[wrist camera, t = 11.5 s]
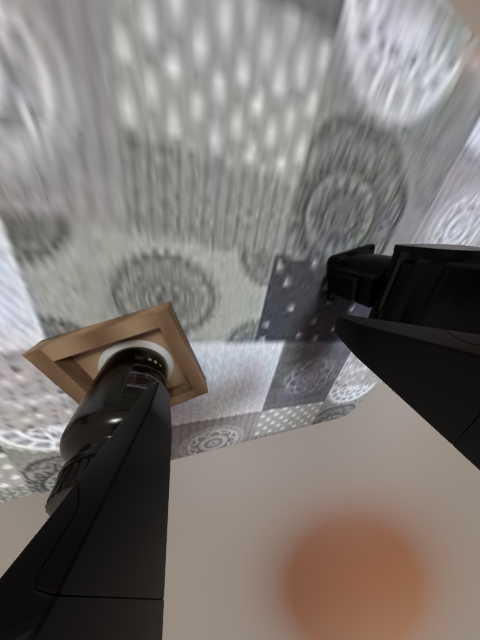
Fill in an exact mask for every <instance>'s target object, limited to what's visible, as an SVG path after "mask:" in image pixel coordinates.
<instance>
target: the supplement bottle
mask: <svg viewBox="0 0 480 640" xmlns="http://www.w3.org/2000/svg"><path fill="white" fill-rule="evenodd" d="M158 381H160V382H161V383H162V384H163V385H164V387H165V388H166V390H167V382H168V364H167V362H166V360H165V358H164V357H163V356H162V355H161V354H160V353H158V352H157V351H155V350H152V349H150V348H146V347H128V348H124V349H121V350H119V351H117V352H115V353H113V354H112V355H111V356H110V357H109V358H108V359H107V360H106V361H105V363H104V364H103V366H102V367H101V369H100V371H99V372H98V374H97V376H96V377H95V379H94V381H93V383H92V384H91V386H90V388H89V389H88V391H87V393H86V394H85V396H84V398H83V399H82V401H81V403H80V405H79V406H78V408H77V410H76V411H75V413H74V415H73V416H72V418H71V420H70V421H69V423H68V425H67V427H66V428H65V430H64V432H63V434H62V437H61V440H60V453H61V456H62V458H63V460H64V461H65V464H64V465H63V466H62V468H61V470H60V472H59V474H58V476H57V482H56V484H55V486H54V488H53V489H52V491H51V494H50V496H49V498H48V500H47V504H46V506H45V509H46V513H48V515H49V516H51V515H52V514H53V512H54V511H55V510H56V508H57V507H58V506H59V504H60V503H61V502H62V501H63V499H64V498H65V497H66V495H67V494H68V493H69V491H70V490H71V489H72V487H73V486H74V485H75V483H77V482H78V480H79V478H80V477H81V476H82V474H83V473H84V472H85V470H86V469H87V468H88V466H89V465H90V464H91V462H92V461H93V460H94V458H95V457H96V456H97V454H98V453H99V452H100V450H101V449H102V448H103V446H104V445H105V444H106V442H107V441H108V440H109V438H110V437H111V436H112V434H113V433H114V432H115V430H116V429H117V428H118V426H119V425H120V424H121V422H122V421H123V420H124V418H125V417H126V416H127V415H128V413H129V412H130V411H131V409H132V408H133V407H134V405H135V404H136V403H137V401H138V400H139V399H140V397H141V396H142V395H143V393H144V392H145V391H146V389H147V388H148V387H149V385H151V384H153V383H155V382H158Z"/></svg>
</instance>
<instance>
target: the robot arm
mask: <svg viewBox="0 0 480 640" xmlns="http://www.w3.org/2000/svg"><path fill="white" fill-rule="evenodd" d="M374 250H375V245H374V244H368V245H365V246H361V247H358V248H355V249H352V250H348V251H345V252H342V253H338V254H335V255H332V256H331V257H330V261H329V280H328V301H330V302H333V301H336V300H339V299H342V298H345V299H347V300H349V301H352V302H356V303H359V304H361V305H364V306H366V307H368V308H370V307H372V309H371V312H370V314H369V317H368V318H365V317H358V316H352V315H345V314H344V315H340V316H338V317H336V319H335V327H334V331H335V333H336V335H337V336H338V337H339V338H340V339H341V340H342V342H343V343H344V344H345V345H346V346H347V347H348V348H349V349H350V350H351V352H352V353H353V354H354V355H355V356H356V357H357V358H358V359H359V360H360V361H361V362H363V363H364V364H365V365H366V366H367V367H368V368H369V369H370V370H371V371H372V372H373V373H375V374H376V375H377V376H378V377H379V378H380V379H381V380H382V381H383V382H384V383H385V384H387V385H388V386H389V387H390V388H391V389H392V390H393V391H394V392H395V393H396V394H398V395H399V396H400V397H401V398H402V399H403V400H404V401H405V402H406V403H407V404H408V405H410V406H411V407H412V408H413V409H414V410H415V411H416V412H417V413H418V414H419V415H420V416H421V417H423V418H424V419H425V420H426V421H427V422H428V423H429V424H430V425H431V426H432V427H433V428H435V429H436V430H437V431H438V432H439V433H440V434H441V435H442V436H443V437H444V438H446V439H447V440H448V441H449V442H450V443H451V444H453V446H454V447H455V448H456V449H457V450H458V451H459V452H461V453H462V454H463V455H464V456H465V457H466V458H467V459H468V460H469V461H470V462H471V463H472V464H474V465H475V466H476V467H477V468H478V469H479V470H480V247H472V246H464V245H448V244H399V245H395V247H394V253H393V255H392V256H386V255H378V254H374ZM334 258H335V259H334ZM331 298H332V299H331ZM171 439H172V426H171V410H170V396H169V393H168V391H167V390H166V388H165V387H164V385H163V384H162V383H161V382H160V381H158V382H155V383H153V384H151V385H149V387H148V388H147V389H146V391H145V392H144V393H143V395H142V396H141V397H140V399H139V400H138V401H137V403H136V404H135V405H134V407H133V408H132V409H131V411H130V412H129V413H128V415H127V416H126V417H125V418H124V420H123V421H122V422H121V424H120V425H119V426H118V428H117V429H116V430H115V432H114V433H113V434H112V436H111V437H110V438H109V440H108V441H107V442H106V444H105V445H104V446H103V448H102V449H101V450H100V452H99V453H98V454H97V456H96V457H95V458H94V460H93V461H92V462H91V464H90V465H89V466H88V468H87V469H86V470H85V472H84V473H83V474H82V476H81V477H80V478H79V480H78V482H77V483H75V485H74V486H73V487H72V489H71V490H70V491H69V493H68V494H67V495H66V497H65V498H64V499H63V501H62V502H61V503H60V504H59V506H58V507H57V508H56V510H55V511H54V512H53V514H52V515H51V516H50V518H49V519H48V520H47V521H46V523H45V524H44V525H43V526H42V528H41V529H40V530H39V532H38V533H37V534H36V535H35V536H34V538H33V539H32V540H31V541H30V543H29V544H28V545H27V546H26V547H25V549H24V550H23V551H22V552H21V554H20V555H19V557H17V559H16V560H15V561H14V562H13V564H12V565H11V566H10V567H9V568H8V570H7V571H6V572H5V573H4V575H3V576H2V577H1V578H0V640H162V630H163V608H164V600H163V598H164V585H165V564H166V542H167V522H168V520H167V519H168V501H169V480H170V460H171Z"/></svg>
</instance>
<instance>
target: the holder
mask: <svg viewBox="0 0 480 640" xmlns="http://www.w3.org/2000/svg"><path fill="white" fill-rule="evenodd" d="M128 347H146V348H150V349H152V350H155V351H157V352H158V353H160V354H161V355H162V356H163V357H164V358H165V360H166V362H167V364H168V382H167V391H168V393H169V396H170V407H171V406H174V405H177V404H179V403H182V402H184V401H187V400H190V399H192V398H195V397H197V396H200V395H203V394H205V393H208V390H207V382H206V378H205V376H204V374H203V372H202V370H201V367H200V365H199V363H198V361H197V359H196V357H195V355H194V352H193V350H192V348H191V346H190V344H189V342H188V340H187V337H186V335H185V333H184V331H183V329H182V327H181V324H180V322H179V320H178V318H177V316H176V314H175V312H174V309H173V307H172V305H171V303H170V302H167V303H164V304H161V305H158V306H154V307H151V308H148V309H144V310H141V311H138V312H134V313H131V314H128V315H124V316H121V317H118V318H114V319H111V320H108V321H104V322H101V323H98V324H94V325H91V326H88V327H85V328H81V329H78V330H75V331H71V332H68V333H65V334H61V335H58V336H55V337H51V338H48V339H45V340H42V341H40V342H39V343H38V344H36V345H35V346H34V347H32V348H31V349H30V350H28V351H27V352H26V353H24V354H23V356H24V357H25V358H26V359H27V360H28V361H29V362H31V363H32V364H33V365H34V366H35V367H36V368H38V369H39V370H40V371H41V372H42V373H43V374H45V375H46V376H47V377H48V378H49V379H50V380H51V381H53V382H54V383H55V384H56V385H57V386H58V387H60V388H61V389H62V390H63V391H64V392H65V393H67V394H68V395H69V396H70V397H71V398H72V399H73V400H75V401H76V402H77V403H78V404H79V405H80V403H81V401H82V399H83V398H84V396H85V394H86V393H87V391H88V389H89V388H90V386H91V384H92V383H93V381H94V379H95V377H96V376H97V374H98V372H99V371H100V369H101V367H102V366H103V364H104V363H105V361H106V360H107V359H108V358H109V357H110V356H111V355H112V354H113V353H115V352H117V351H119V350H121V349H124V348H128Z"/></svg>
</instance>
